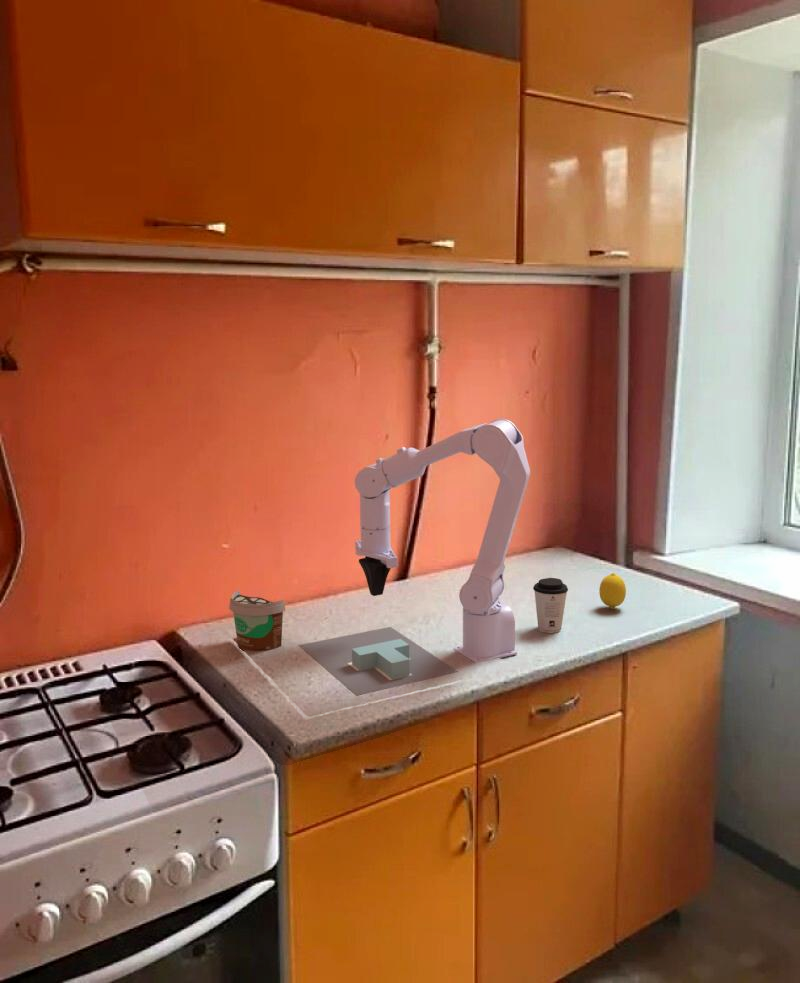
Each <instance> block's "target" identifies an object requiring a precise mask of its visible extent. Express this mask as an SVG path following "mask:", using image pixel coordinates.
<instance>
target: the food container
mask: <svg viewBox="0 0 800 983" xmlns="http://www.w3.org/2000/svg"><path fill="white" fill-rule="evenodd" d="M228 608H229V610H230V611H231V612H232V614H233V620H234V627H235V628H234V629H235V633H236V640H237V642H236V643H237V647H238V648H239V650H240V649H241V651H242V652H244V651H251V652H261V651H262V652H263V651H264V652H265V651H270V650H275V649H278V648H280V647H282V638H283V615H284V612H285V611H286V606H285V603H284V600H283V599H281V600H278V601H275V602H272V601H270V600H268V599H265V598H263V597H255V596H254V597H253V596H248V595H247V596H246V595H243V594H242V595H241V590H237V591H235V592H233V594H232V595H231V598H230V600H229V606H228Z"/></svg>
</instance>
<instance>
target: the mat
mask: <svg viewBox="0 0 800 983" xmlns="http://www.w3.org/2000/svg"><path fill="white" fill-rule="evenodd" d="M397 639H401V640H403V641H404V642H406V643H407V644H409V665H410V675H409V676H405V677H400V678H396V679H391V678H390V677H388V676H387V675H386V674H384V673H383V672H382V671H381V670H379V669H378V668H372V669H368V670H363V671H360V670H358V669H357V668H356V667H355V666H353V665H352V649H354V648H358V647H363V646H368V645H373V644H378V643H382V642H387V641H392V640H397ZM298 647H300V648H301V649H302V650H303V651H305V652H306V653H307V654H308V655H309V656H310V657H312V659H314V661H316V662H317V663H318V664H319V665H320V666H322V667H323V668H324V669H325V670H326V671H327V672H329V673H330V674H331V675H332V676H333V677H334V678H336V679H337V680H338V681H339V682H340V683H341V684H342V685H344V686H345V687H346V688H347V689H348V690H349V691H351V693H353V694H354V695H355V696H360V695H361V696H362V695H365V694H369V693H374V692H378V691H383V690H386V689H390V688H391V689H392V688H395V687H400V686H404V685H408V684H412V683H416V682H421V681H425V680H430V679H433V678H437V677H441V676H447V675H451V674H455V673H458V670H456V669H455V668H453V667H452V666H450V665H449V664H447V663H446V662H444V661H443V660H441V659H439V658H438V657H437V656H436V655H434V654H432V653H431V652H429V651H428V650H426V649H425V648H423V647H422V646H420V644H418V643H416V642H414V641H412V640H411V639H409V638H408V637H407V636H405V635H404V634H402V633H401V632H399V631H398V630H396V629H395V628H393V627H392V626H388V627H383V628H378V629H373V630H367V631H362V632H357V633H352V634H347V635H342V636H336V637H333V638H328V639H322V640H317V641H313V642H312V641H311V642H307V643H302V644H299V645H298Z"/></svg>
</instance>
